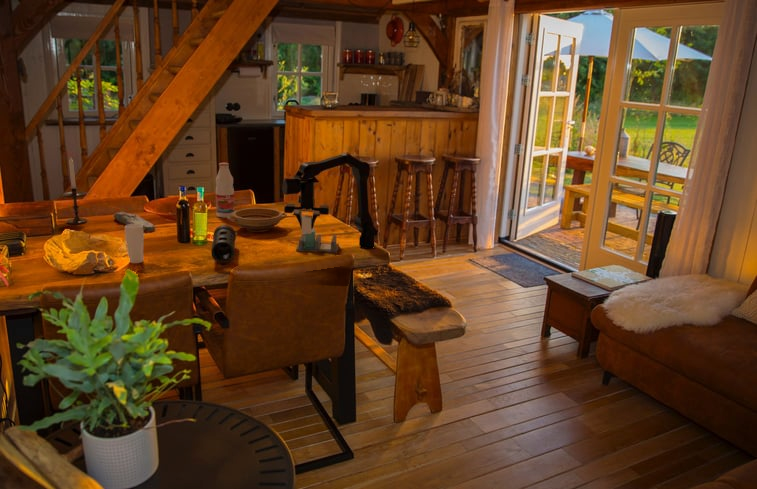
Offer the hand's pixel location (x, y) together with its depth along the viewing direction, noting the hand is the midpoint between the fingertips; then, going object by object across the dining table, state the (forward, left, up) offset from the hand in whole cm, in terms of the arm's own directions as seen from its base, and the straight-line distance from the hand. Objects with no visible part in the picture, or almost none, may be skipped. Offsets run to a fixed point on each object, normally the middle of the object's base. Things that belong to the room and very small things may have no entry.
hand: (306, 228), depth 258 cm
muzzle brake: (+34, +7, -12) cm, 37 cm away
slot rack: (-4, -9, -11) cm, 15 cm away
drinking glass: (+66, +21, -12) cm, 70 cm away
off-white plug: (0, 0, -2) cm, 2 cm away
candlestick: (+117, -34, -12) cm, 123 cm away
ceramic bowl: (+29, -37, -12) cm, 49 cm away
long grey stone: (+90, -35, -12) cm, 97 cm away
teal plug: (0, -9, -10) cm, 14 cm away
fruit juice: (+51, -60, -12) cm, 80 cm away
